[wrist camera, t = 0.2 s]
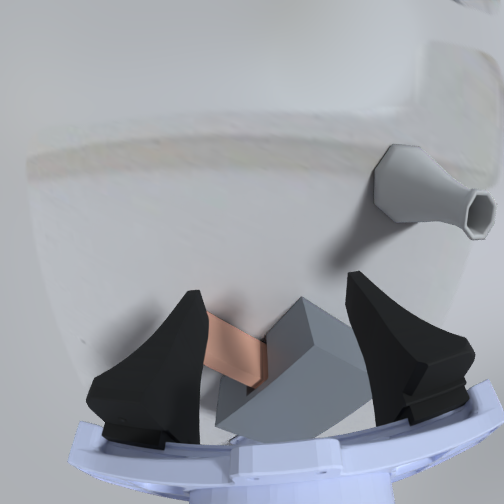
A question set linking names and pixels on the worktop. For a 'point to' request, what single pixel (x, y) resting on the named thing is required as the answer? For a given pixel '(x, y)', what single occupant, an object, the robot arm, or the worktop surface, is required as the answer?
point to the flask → (429, 193)
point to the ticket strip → (235, 353)
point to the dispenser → (298, 380)
